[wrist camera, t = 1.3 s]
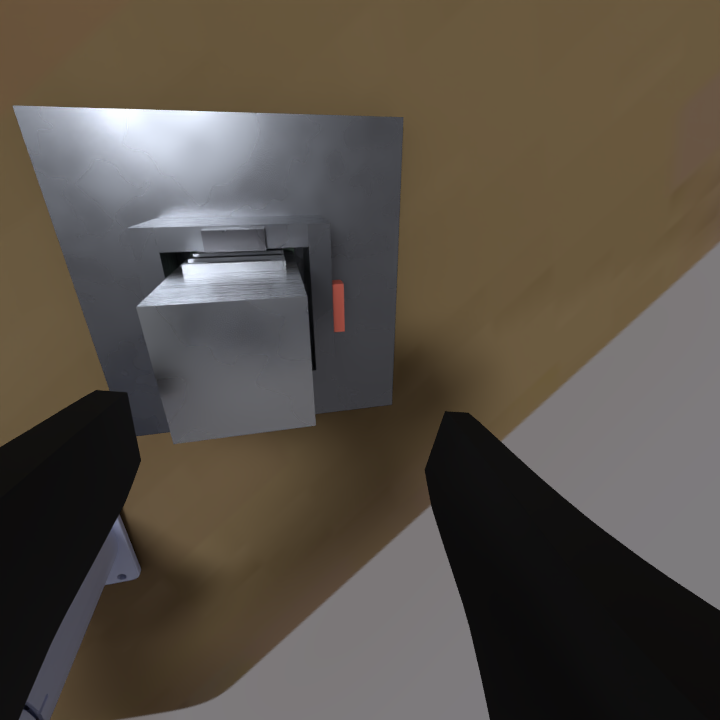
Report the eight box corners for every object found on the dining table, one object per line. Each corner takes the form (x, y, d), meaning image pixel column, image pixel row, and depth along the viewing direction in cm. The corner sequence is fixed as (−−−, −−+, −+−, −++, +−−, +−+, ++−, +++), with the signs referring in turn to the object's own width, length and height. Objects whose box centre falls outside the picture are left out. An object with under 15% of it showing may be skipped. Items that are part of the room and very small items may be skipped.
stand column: (210, 339, 18) (171, 446, 10) (192, 243, 16) (128, 294, 9) (299, 332, 18) (318, 427, 11) (292, 239, 16) (309, 284, 9)
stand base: (132, 425, 20) (93, 494, 15) (29, 110, 14) (-83, 78, 9) (386, 395, 22) (415, 447, 18) (396, 120, 16) (441, 99, 12)
